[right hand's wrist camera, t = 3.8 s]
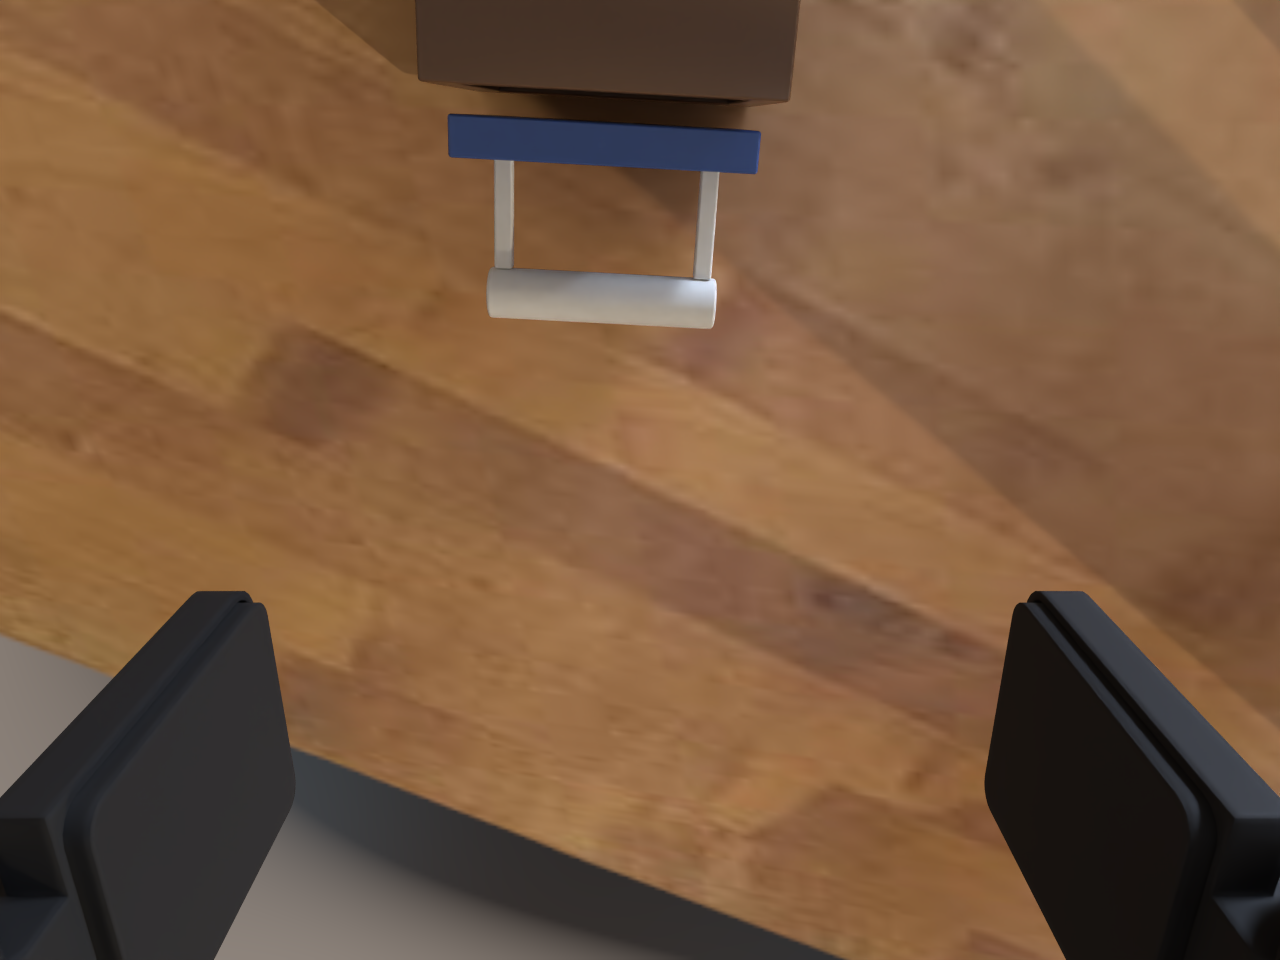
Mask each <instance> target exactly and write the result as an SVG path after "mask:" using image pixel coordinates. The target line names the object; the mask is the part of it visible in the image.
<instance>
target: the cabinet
mask: <svg viewBox="0 0 1280 960" xmlns="http://www.w3.org/2000/svg"><path fill="white" fill-rule="evenodd" d="M415 7H416V37H417V66H418V79H419V80H420V81H423V82H428V83H433V84H439V85H445V86H451V87H456V88H462V89H468V90H473V91H481V92H498V93H516V94H534V95H551V96H569V97H587V98H604V99H622V100H639V101H657V102H675V103H692V104H710V105H728V106H745V107H751V106H760V105H768V104H776V103H783V102H788V101H789V100H790V95H791V86H792V76H793V67H794V57H795V47H796V38H797V28H798V19H799V9H800V0H415Z"/></svg>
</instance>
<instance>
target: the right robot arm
mask: <svg viewBox="0 0 1280 960" xmlns="http://www.w3.org/2000/svg"><path fill="white" fill-rule="evenodd" d="M294 794H295V773H294V767H293V761H292V756H291V750H290V744H289V738H288V732H287V726H286V720H285V715H284V709H283V703H282V697H281V691H280V685H279V680H278V674H277V668H276V662H275V656H274V650H273V644H272V639H271V633H270V627H269V621H268V615H267V612H266V609H265V607H264V605H263V604H262V603H253V601H252V599H251V597H250V595H249V594H248V593H247V592H245V591H197V592H196V593H194V594H193V595H192V596H191V597H190V598H189V599H188V600H187V601H186V602H185V603H184V604H183V605H182V606H181V607H180V608H179V609H178V610H177V611H176V613H175V614H174V615H173V616H172V617H171V618H170V619H169V620H168V621H167V622H166V623H165V624H164V625H163V626H162V627H161V628H160V629H159V630H158V632H157V633H156V634H155V635H154V636H153V637H152V638H151V639H150V640H149V641H148V642H147V643H146V644H145V645H144V646H143V647H142V648H141V650H140V651H139V652H138V653H137V654H136V655H135V656H134V657H133V658H132V659H131V660H130V661H129V662H128V663H127V664H126V665H125V666H124V667H123V669H122V670H121V671H120V672H119V673H118V674H117V675H116V676H115V677H114V678H113V679H112V680H111V681H110V682H109V683H108V684H107V685H106V687H105V688H104V689H103V690H102V691H101V692H100V693H99V694H98V695H97V696H96V697H95V698H94V699H93V700H92V701H91V702H90V703H89V704H88V706H87V707H86V708H85V709H84V710H83V711H82V712H81V713H80V714H79V715H78V716H77V717H76V718H75V719H74V720H73V721H72V722H71V723H70V725H69V726H68V727H67V728H66V729H65V730H64V731H63V732H62V733H61V734H60V735H59V736H58V737H57V738H56V739H55V740H54V741H53V743H52V744H51V745H50V746H49V747H48V748H47V749H46V750H45V751H44V752H43V753H42V754H41V755H40V756H39V757H38V758H37V759H36V761H35V762H34V763H33V764H32V765H31V766H30V767H29V768H28V769H27V770H26V771H25V772H24V773H23V774H22V775H21V776H20V777H19V778H18V779H17V781H16V782H15V783H14V784H13V785H12V786H11V787H10V788H9V789H8V790H7V791H6V792H5V793H4V794H3V795H2V796H1V798H0V960H214V958H215V956H216V954H217V952H218V950H219V948H220V947H221V945H222V943H223V941H224V939H225V937H226V935H227V933H228V931H229V929H230V927H231V925H232V923H233V921H234V919H235V917H236V915H237V913H238V911H239V909H240V907H241V905H242V903H243V901H244V899H245V897H246V895H247V893H248V891H249V889H250V888H251V886H252V884H253V882H254V880H255V878H256V876H257V874H258V872H259V870H260V868H261V866H262V864H263V862H264V860H265V858H266V856H267V854H268V852H269V850H270V848H271V846H272V844H273V842H274V840H275V838H276V836H277V834H278V832H279V831H280V828H281V827H282V825H283V823H284V821H285V819H286V817H287V815H288V813H289V811H290V809H291V806H292V803H293V799H294ZM985 794H986V799H987V803H988V806H989V809H990V811H991V813H992V815H993V817H994V819H995V821H996V823H997V825H998V827H999V829H1000V831H1001V833H1002V834H1003V836H1004V838H1005V840H1006V842H1007V844H1008V846H1009V848H1010V850H1011V852H1012V854H1013V856H1014V858H1015V860H1016V862H1017V864H1018V866H1019V868H1020V870H1021V872H1022V874H1023V876H1024V878H1025V880H1026V882H1027V884H1028V886H1029V888H1030V890H1031V892H1032V893H1033V895H1034V897H1035V899H1036V901H1037V903H1038V905H1039V907H1040V909H1041V911H1042V913H1043V915H1044V917H1045V919H1046V921H1047V923H1048V925H1049V927H1050V929H1051V931H1052V933H1053V935H1054V937H1055V939H1056V941H1057V943H1058V945H1059V947H1060V949H1061V950H1062V952H1063V954H1064V956H1065V958H1066V960H1280V797H1279V796H1278V795H1277V794H1276V793H1275V792H1274V791H1273V790H1272V789H1271V788H1270V787H1269V786H1268V785H1267V784H1266V783H1265V782H1264V781H1263V779H1262V778H1261V777H1260V776H1259V775H1258V774H1257V773H1256V772H1255V771H1254V770H1253V769H1252V768H1251V767H1250V766H1249V765H1248V764H1247V763H1246V762H1245V760H1244V759H1243V758H1242V757H1241V756H1240V755H1239V754H1238V753H1237V752H1236V751H1235V750H1234V749H1233V748H1232V747H1231V746H1230V745H1229V744H1228V742H1227V741H1226V740H1225V739H1224V738H1223V737H1222V736H1221V735H1220V734H1219V733H1218V732H1217V731H1216V730H1215V729H1214V728H1213V727H1212V726H1211V725H1210V723H1209V722H1208V721H1207V720H1206V719H1205V718H1204V717H1203V716H1202V715H1201V714H1200V713H1199V712H1198V711H1197V710H1196V709H1195V708H1194V707H1193V706H1192V704H1191V703H1190V702H1189V701H1188V700H1187V699H1186V698H1185V697H1184V696H1183V695H1182V694H1181V693H1180V692H1179V691H1178V690H1177V689H1176V688H1175V686H1174V685H1173V684H1172V683H1171V682H1170V681H1169V680H1168V679H1167V678H1166V677H1165V676H1164V675H1163V674H1162V673H1161V672H1160V671H1159V670H1158V669H1157V667H1156V666H1155V665H1154V664H1153V663H1152V662H1151V661H1150V660H1149V659H1148V658H1147V657H1146V656H1145V655H1144V654H1143V653H1142V652H1141V651H1140V650H1139V648H1138V647H1137V646H1136V645H1135V644H1134V643H1133V642H1132V641H1131V640H1130V639H1129V638H1128V637H1127V636H1126V635H1125V634H1124V633H1123V632H1122V630H1121V629H1120V628H1119V627H1118V626H1117V625H1116V624H1115V623H1114V622H1113V621H1112V620H1111V619H1110V618H1109V617H1108V616H1107V615H1106V614H1105V613H1104V611H1103V610H1102V609H1101V608H1100V607H1099V606H1098V605H1097V604H1096V603H1095V602H1094V601H1093V600H1092V599H1091V598H1090V597H1089V596H1088V595H1087V594H1086V593H1084V592H1083V591H1035V592H1033V593H1032V594H1031V595H1030V597H1029V599H1028V601H1027V603H1018V604H1017V605H1016V607H1015V609H1014V612H1013V615H1012V621H1011V627H1010V633H1009V639H1008V644H1007V650H1006V656H1005V662H1004V668H1003V674H1002V680H1001V685H1000V691H999V697H998V703H997V709H996V715H995V720H994V726H993V732H992V738H991V744H990V750H989V756H988V761H987V767H986V773H985Z"/></svg>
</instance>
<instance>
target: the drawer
mask: <svg viewBox="0 0 1280 960" xmlns="http://www.w3.org/2000/svg"><path fill="white" fill-rule="evenodd" d="M760 139H761V133H760V132H759V131H753V130H742V129H729V128H711V127H694V126H676V125H658V124H640V123H623V122H605V121H587V120H569V119H552V118H534V117H516V116H498V115H474V114H448V154H449V156H450V157H454V158H472V159H490V160H494V252H495V267H491V268H490V270H489V273H488V278H487V291H486V299H487V310H488V313H489V316H490V317H494V318H513V319H532V320H551V321H570V322H589V323H608V324H627V325H645V326H664V327H683V328H702V329H711V328H712V327H713V325H714V320H715V311H716V296H717V286H716V281H715V279H711V272H712V260H713V247H714V235H715V222H716V210H717V198H718V185H719V173H720V172H724V173H741V174H756V173H757V171H758V160H759V150H760ZM514 161H526V162H544V163H562V164H580V165H598V166H616V167H634V168H652V169H670V170H688V171H700V184H699V198H698V212H697V226H696V239H695V253H694V267H693V277H694V278H691V277H672V276H654V275H635V274H616V273H598V272H579V271H561V270H542V269H524V268H512V267H513V266H514Z"/></svg>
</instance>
